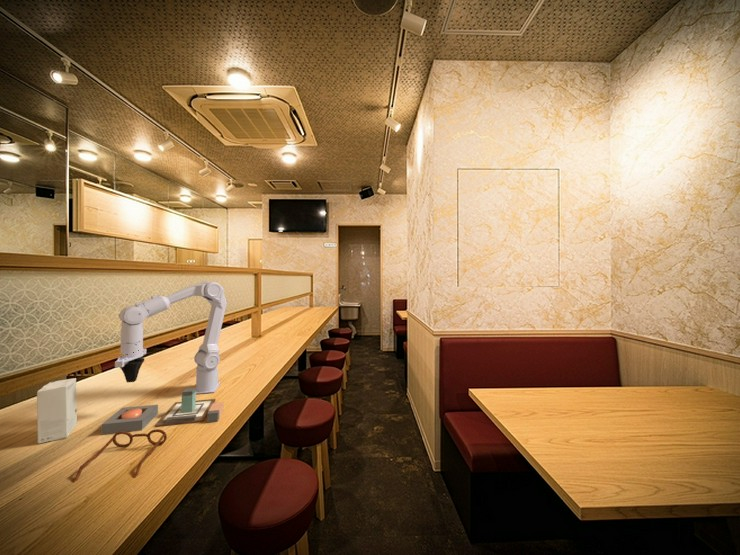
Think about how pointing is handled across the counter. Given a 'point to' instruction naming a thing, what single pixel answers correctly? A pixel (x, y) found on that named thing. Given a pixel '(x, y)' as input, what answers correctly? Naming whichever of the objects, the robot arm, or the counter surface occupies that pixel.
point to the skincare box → (56, 410)
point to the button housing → (129, 420)
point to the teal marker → (188, 400)
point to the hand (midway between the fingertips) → (131, 381)
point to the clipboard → (186, 414)
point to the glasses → (126, 446)
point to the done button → (132, 413)
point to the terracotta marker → (215, 412)
